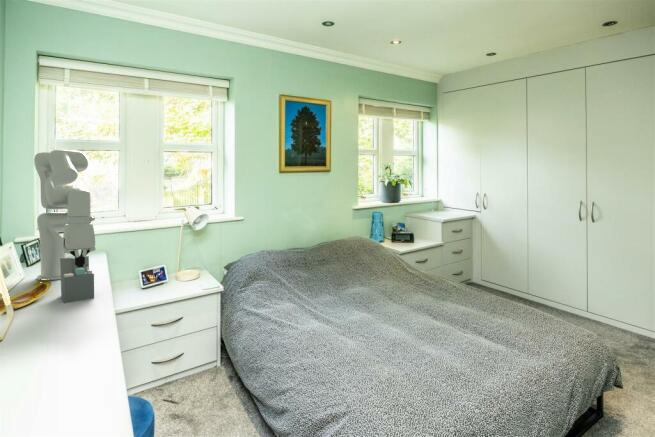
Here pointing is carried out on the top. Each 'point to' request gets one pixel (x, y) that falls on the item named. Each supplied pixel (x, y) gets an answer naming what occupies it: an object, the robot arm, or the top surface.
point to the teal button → (79, 271)
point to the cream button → (68, 275)
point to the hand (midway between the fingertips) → (80, 266)
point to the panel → (77, 287)
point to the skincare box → (71, 265)
